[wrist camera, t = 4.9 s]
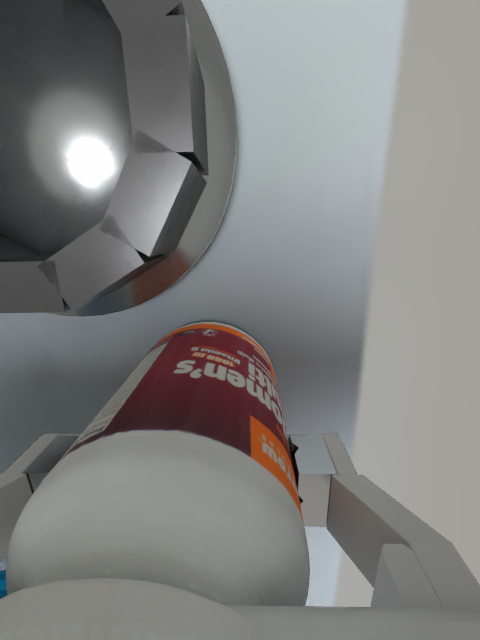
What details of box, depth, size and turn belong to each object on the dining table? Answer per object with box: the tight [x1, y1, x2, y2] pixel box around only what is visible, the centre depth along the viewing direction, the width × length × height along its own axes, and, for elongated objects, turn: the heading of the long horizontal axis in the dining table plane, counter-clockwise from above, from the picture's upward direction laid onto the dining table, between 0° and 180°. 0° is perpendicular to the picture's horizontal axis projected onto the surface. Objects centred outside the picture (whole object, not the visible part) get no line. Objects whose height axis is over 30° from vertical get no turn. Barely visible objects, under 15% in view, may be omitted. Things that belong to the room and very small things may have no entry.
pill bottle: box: [0, 322, 310, 640], centre depth 8 cm, size 6×6×11 cm
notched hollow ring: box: [0, 0, 237, 316], centre depth 9 cm, size 13×13×4 cm
